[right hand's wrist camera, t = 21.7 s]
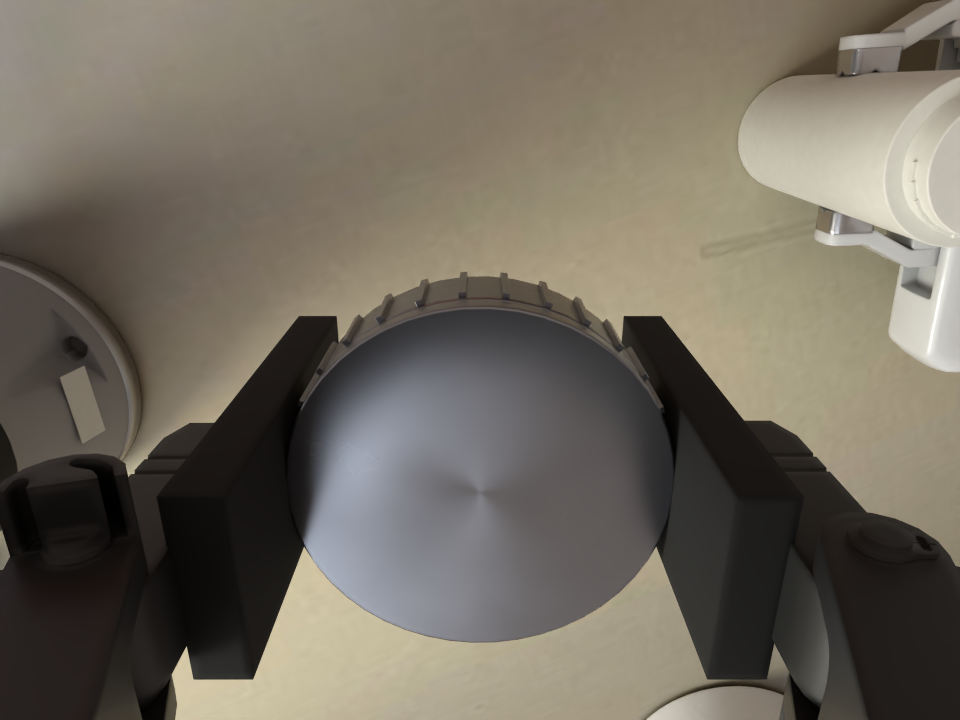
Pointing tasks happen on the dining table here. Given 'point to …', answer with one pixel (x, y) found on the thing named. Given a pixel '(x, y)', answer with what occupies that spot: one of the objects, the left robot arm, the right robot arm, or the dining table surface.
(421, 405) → the lid
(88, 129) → the dining table surface
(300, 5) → the dining table surface
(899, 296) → the left robot arm
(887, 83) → the jar
